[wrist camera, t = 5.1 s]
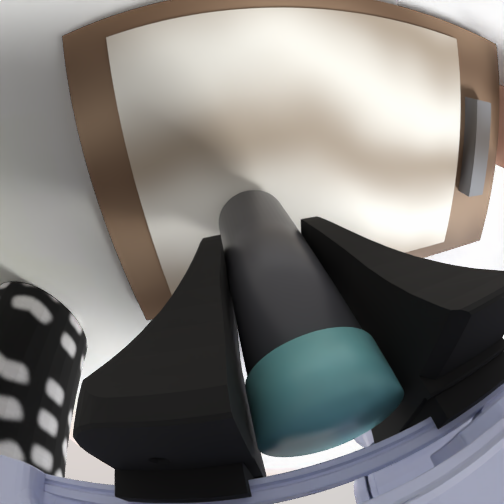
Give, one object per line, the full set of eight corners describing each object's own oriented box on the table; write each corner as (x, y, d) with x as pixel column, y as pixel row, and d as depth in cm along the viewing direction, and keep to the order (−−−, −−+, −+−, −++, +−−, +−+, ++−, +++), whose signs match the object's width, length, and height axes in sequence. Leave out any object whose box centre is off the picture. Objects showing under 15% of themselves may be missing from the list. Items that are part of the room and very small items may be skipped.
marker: (288, 244, 13) (383, 428, 6) (223, 258, 13) (264, 465, 5) (283, 182, 11) (423, 362, 4) (210, 195, 11) (247, 420, 4)
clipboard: (471, 233, 18) (487, 246, 16) (148, 308, 16) (144, 333, 14) (485, 43, 10) (507, 45, 8) (71, 39, 8) (52, 33, 6)
